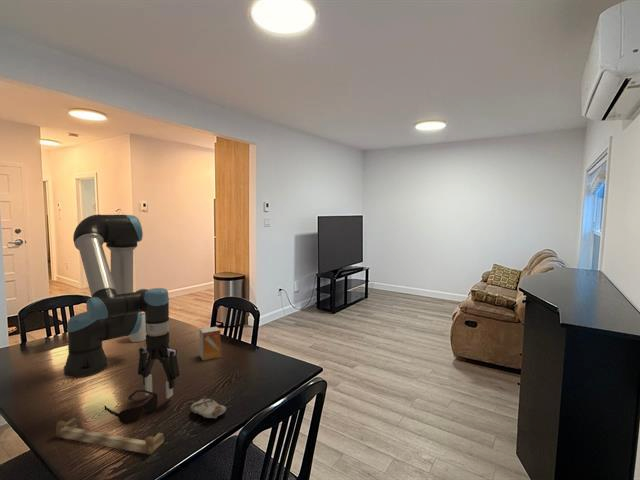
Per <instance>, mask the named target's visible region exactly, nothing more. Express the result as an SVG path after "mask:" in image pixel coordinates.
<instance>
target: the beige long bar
mask: <svg viewBox="0 0 640 480" xmlns="http://www.w3.org/2000/svg"><path fill="white" fill-rule="evenodd" d="M78 420H79V418H77V417H73V418H71V419H70V420H68V421H66V420H59V421H57V422H56V437H57V438H59V439H60V438H62V439H66V440H73V441H79V442H84V443H88V444H92V445H93V444H94V445H98V446H102V447H103V446H105V447H110V448H114V449H119V450H125V451H130V452H136V453H141V454H146V455H147V456H150V455H152V454H154V452H155V451H156V450H157V449H158V448H159V447H160V446H161V445H162V444H163V443H164V441H165V440H164V439H165V438H164V432H163V433H162V432H158V433H157V434H156V435H155V436H153V435H150V436H147V437H146V438H145V440H143V439H137V438H132V437H126V436H123V435H122V436H121V435H115V434H110V433H105V432H99V431H93V430H89V429H83V428H78V427H79V421H78Z"/></svg>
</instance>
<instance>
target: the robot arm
mask: <svg viewBox="0 0 640 480" xmlns="http://www.w3.org/2000/svg"><path fill="white" fill-rule="evenodd" d="M143 233H144V232H143V227H142V224H141V221H140V219H139V218H138V217H137V216H135V215H131V214H91V215H89V216H87V217H85V218H83V219H82V220H81V221H80V222H79V223H78V224H77V226H76V227H75V229H74V232H73V236H72V237H73V238H72V239H73V244H74V247H75V248H76V249H77V250H78V251H79V254H80V258H81V263H82V267H83V269H84V275H85V277H86V281H87V284H88V289H89V292H90V295H91V297H90V298H88V299H87V300H86V304H85V305H86V308H85V309H86V311H84V312H80V313H78V314H74V315H73V316H72V317H70V318H69V319H68V320H67V329H66V331H67V343H68V344H67V347H68V354H67V358H66V361H65V362H66V363H65V364H64V366H63V375H64V376H67V377H71V378H72V377H75V378H76V377H78V378H79V377H85V376H91V375H93V374H96V373H98V372H100V371H103V370H105V369H106V368H107V367H108V363H109V360H108V358H107V356H106V353H105V351H104V349H103V342H105V341H109V340H114V339H118V338H124V337H129V335H132V334H135V333H137V332H138V331H139V329H140V327H141V323H142V316H141V314H142V313H145V323H146V334H147V335H146V340H145V345H144V346H142V347H140V348H139V349H138V353H139V361H138V368H137V375H138V376H142V380H143V382H142V384H143V386H144V390H145V391H150V392H153V374H151V370H152V368H153V366H154V362H155V361H156V360H159V363H160V364H161V365H162V368H163V371H164V373H165V376H166V378H167V379H166V380H165V398H166V399H167V400H168V399H170V398H171V397H172V396H174V387H175V380H176V379H177V378H178V377H179V376H180V374H181V373H180V369H179V368H180V367H179V364H178V358H177V356H178V355H177V353H178V349H177V348H174V349H172V348H170V346H169V344H170V332H169V331H170V315H169V314H170V313H169V312H170V306H169V304H170V303H169V301H170V297H169V291H168V289H166V288H162V287H155V288H149V289H146V288H140V289H138V290H136V291H134V250H135V249H136V248H137V247H138V242H141V241H142V240H143V236H144V234H143ZM104 244H106V245H105V246H106V248H108V250H109V251H110V267H109V262H108V260H107V256H106V254H105V250H104V247H103V245H104ZM149 395H150V394H148V393H145V392H144V396H145V397H147V396H149Z"/></svg>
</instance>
